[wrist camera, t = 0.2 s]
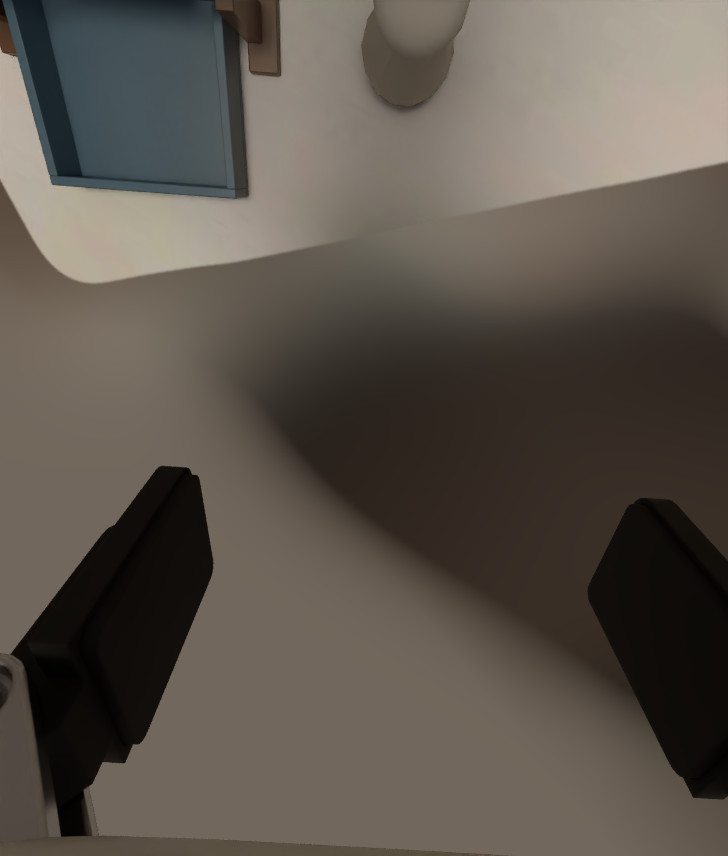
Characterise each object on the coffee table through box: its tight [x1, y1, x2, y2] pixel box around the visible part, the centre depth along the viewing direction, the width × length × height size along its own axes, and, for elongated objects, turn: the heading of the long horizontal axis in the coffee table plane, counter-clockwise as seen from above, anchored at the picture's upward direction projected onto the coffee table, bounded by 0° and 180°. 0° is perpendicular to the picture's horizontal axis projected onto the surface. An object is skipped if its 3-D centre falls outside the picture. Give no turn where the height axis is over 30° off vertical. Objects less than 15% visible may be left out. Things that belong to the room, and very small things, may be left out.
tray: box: [2, 0, 248, 199], centre depth 29 cm, size 13×13×4 cm
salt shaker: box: [361, 0, 470, 106], centre depth 24 cm, size 6×6×13 cm
